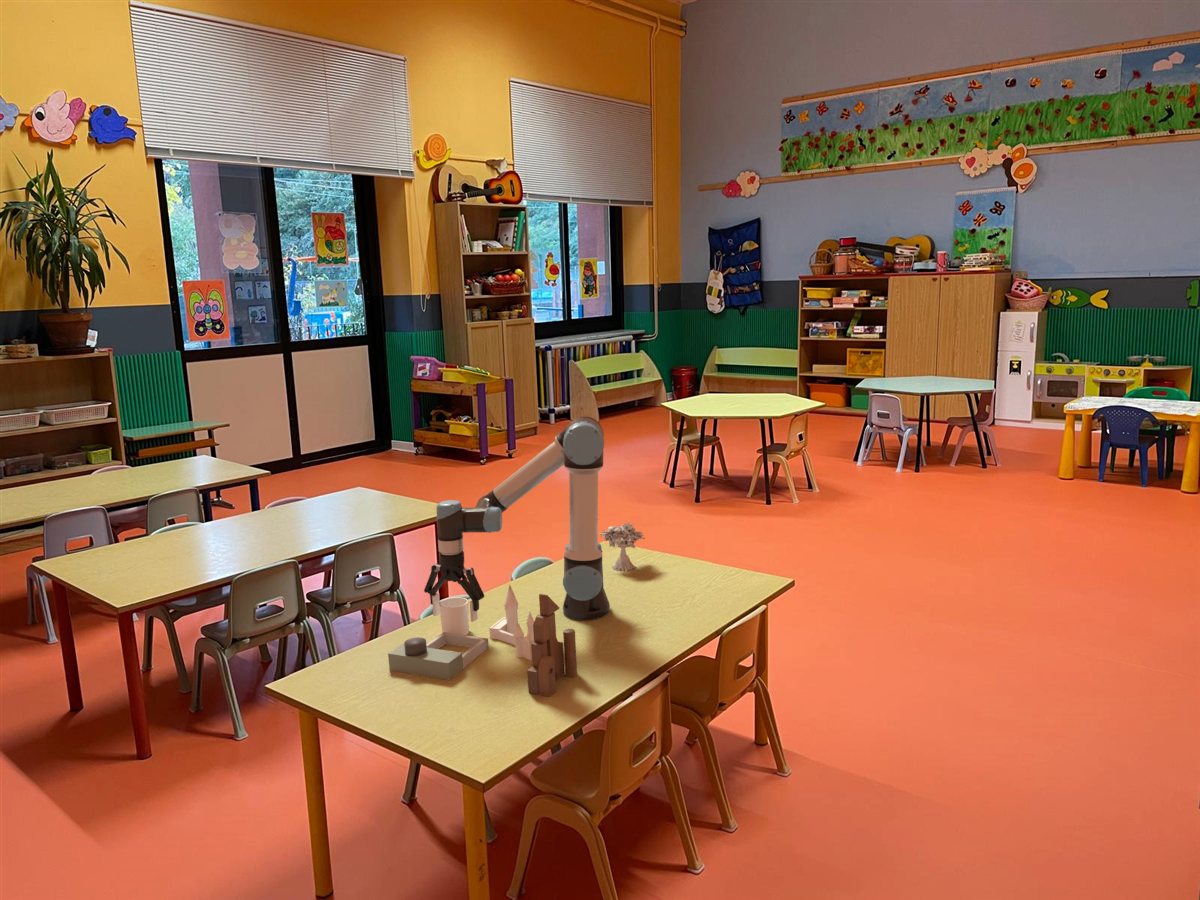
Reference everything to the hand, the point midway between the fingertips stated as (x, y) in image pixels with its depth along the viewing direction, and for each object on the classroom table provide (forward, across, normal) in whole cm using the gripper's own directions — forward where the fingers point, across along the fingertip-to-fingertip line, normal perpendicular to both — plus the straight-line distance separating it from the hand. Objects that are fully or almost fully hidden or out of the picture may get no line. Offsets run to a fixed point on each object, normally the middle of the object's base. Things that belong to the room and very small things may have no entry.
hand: (455, 617), depth 273 cm
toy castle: (+5, -22, +1) cm, 22 cm away
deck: (+5, -6, +18) cm, 20 cm away
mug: (+5, 0, 0) cm, 5 cm away
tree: (+4, -26, -72) cm, 77 cm away
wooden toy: (+5, -44, +21) cm, 49 cm away
